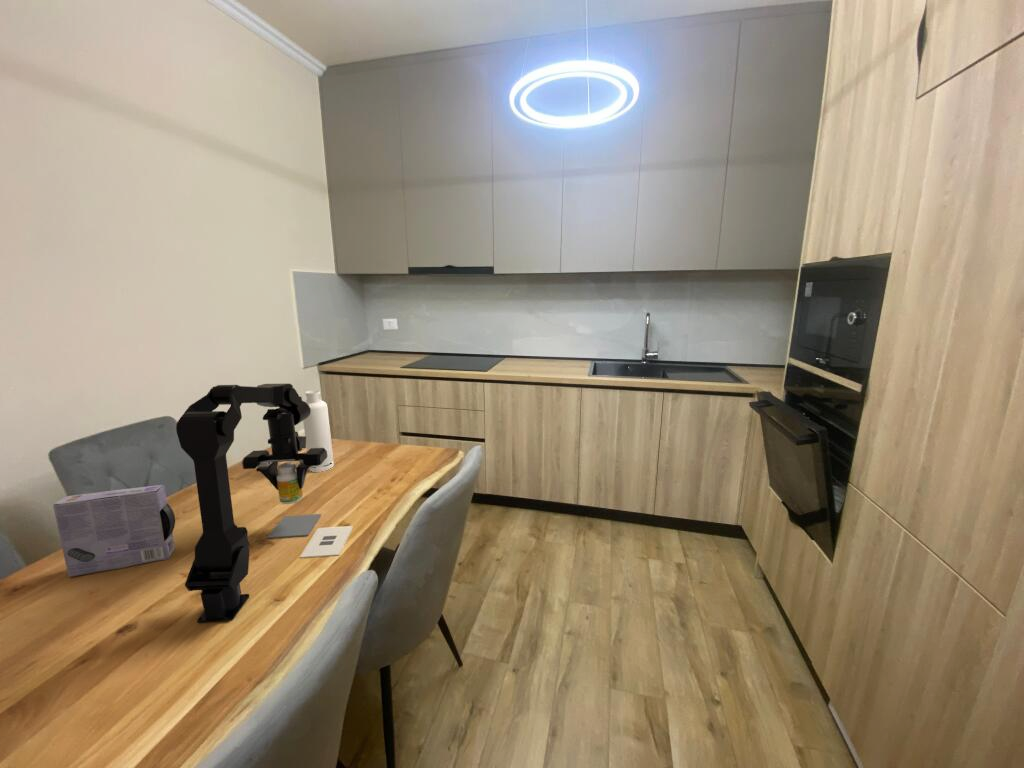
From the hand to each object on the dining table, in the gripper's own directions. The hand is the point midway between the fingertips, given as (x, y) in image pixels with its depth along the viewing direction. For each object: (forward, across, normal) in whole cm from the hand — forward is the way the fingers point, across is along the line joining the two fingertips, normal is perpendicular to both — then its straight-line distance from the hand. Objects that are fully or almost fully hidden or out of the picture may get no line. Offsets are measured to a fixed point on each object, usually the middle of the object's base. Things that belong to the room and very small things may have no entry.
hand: (290, 488), depth 106 cm
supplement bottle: (+3, 0, 0) cm, 3 cm away
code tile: (+11, -11, +8) cm, 18 cm away
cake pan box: (+12, +33, +11) cm, 37 cm away
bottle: (+11, +6, -38) cm, 40 cm away
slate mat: (+11, 0, 0) cm, 11 cm away
